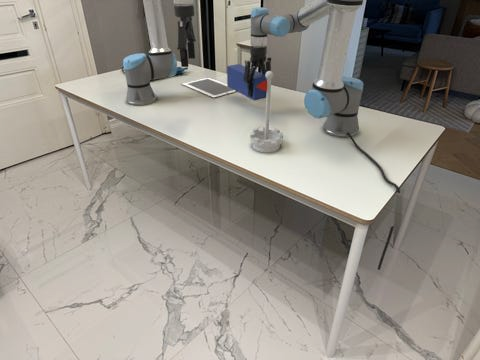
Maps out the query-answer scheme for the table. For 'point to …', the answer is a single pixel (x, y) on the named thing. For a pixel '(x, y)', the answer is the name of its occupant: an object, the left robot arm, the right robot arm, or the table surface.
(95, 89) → the table surface
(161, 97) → the table surface
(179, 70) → the submachine gun
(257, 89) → the box
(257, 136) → the flag stand
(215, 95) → the tablet
